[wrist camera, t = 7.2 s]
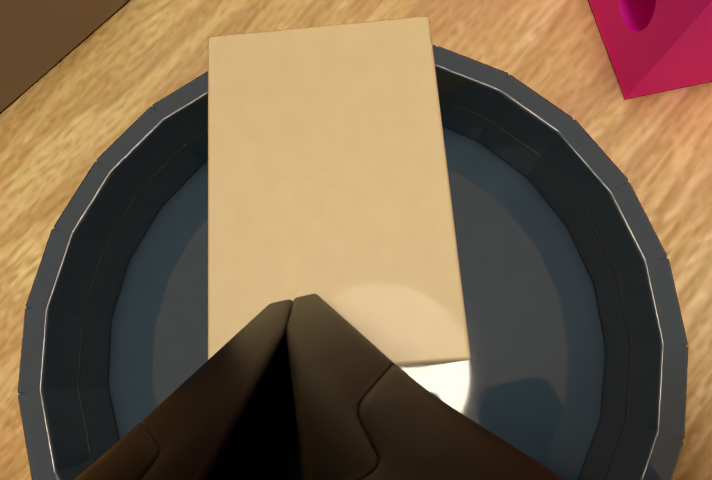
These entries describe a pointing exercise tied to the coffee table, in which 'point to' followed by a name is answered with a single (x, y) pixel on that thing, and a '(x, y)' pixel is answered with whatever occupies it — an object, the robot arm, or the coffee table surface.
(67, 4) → the grey angular block
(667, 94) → the coffee table surface
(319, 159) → the block
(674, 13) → the toy block
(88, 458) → the bowl
